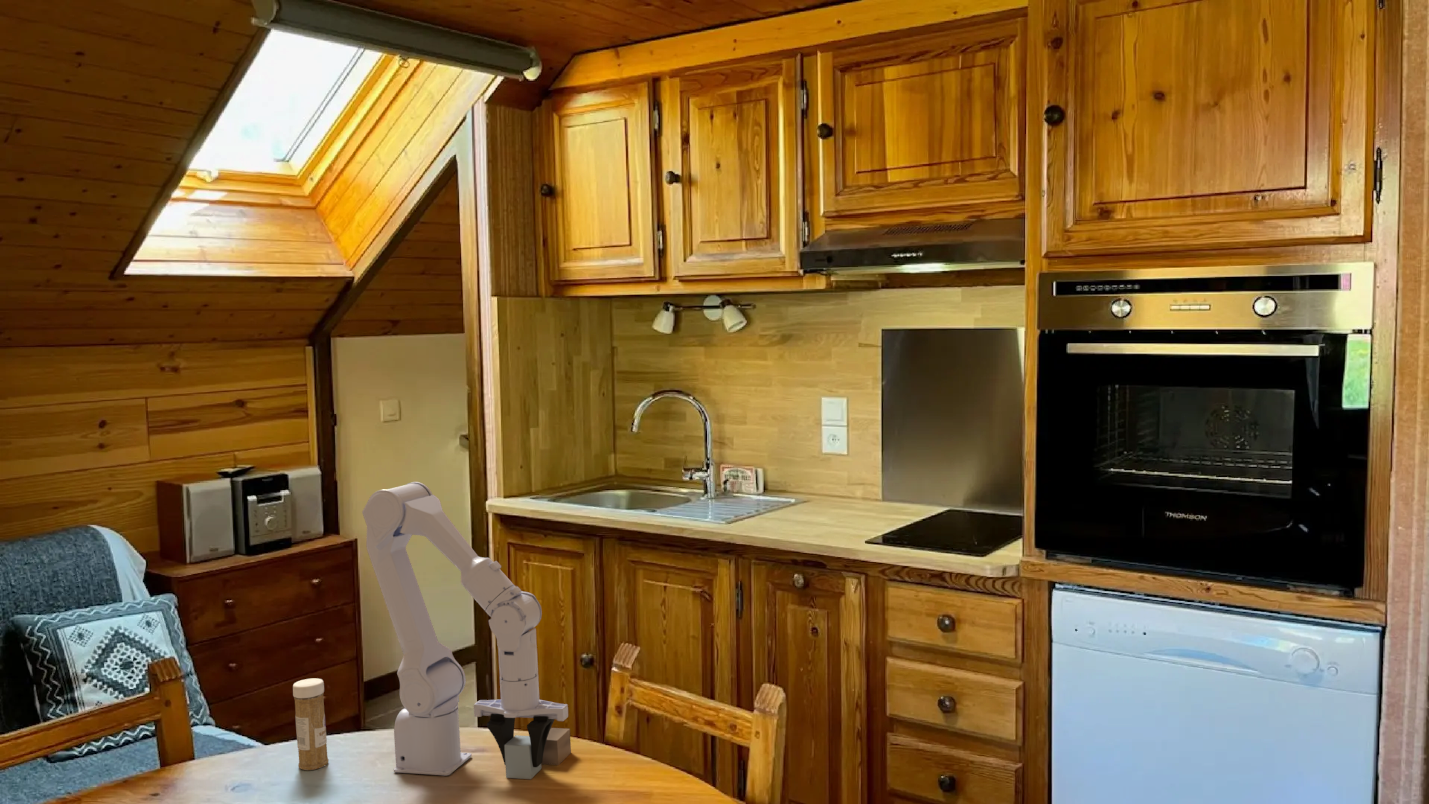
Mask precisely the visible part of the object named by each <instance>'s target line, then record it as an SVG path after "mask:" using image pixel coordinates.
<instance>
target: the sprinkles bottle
mask: <svg viewBox="0 0 1429 804" xmlns="http://www.w3.org/2000/svg"><path fill="white" fill-rule="evenodd" d="M324 692H325V683H324V680H323V679H322V678H318V677H317V678H306V679H301V680H298V681H296V682H294V683H293V685H292V696H293V699H294V709H295V715H294V716H295V717H294V718H295V730H296V745H297V750H298V768H299V769H300V770H304V771H313V770H318V769H321V768H323V767H325V766H327V765H328V764H329V758H328V746H327V742H328V741H327V739H328V738H327V727H326V726H327V725H326V714H325V705H324Z"/></svg>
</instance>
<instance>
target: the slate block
mask: <svg viewBox="0 0 1429 804" xmlns="http://www.w3.org/2000/svg"><path fill="white" fill-rule="evenodd" d="M504 746H505V764H504V766H505V779H506V778H508V779H519V780H520V779H521V780H523V779H525V780H532V779H533V778H534V777H535V776H536V775H537V774H538V773H539V772H540V771H541V769H542V764H540V765H539V766H538V767H533V764H532V751H531V742H530V736H529V735H520V734H519V735H515V734H514V737H513V738H512V739H511V740H510V741H509V742H507V743H506V744H505V745H504Z"/></svg>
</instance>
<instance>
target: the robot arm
mask: <svg viewBox="0 0 1429 804" xmlns="http://www.w3.org/2000/svg"><path fill="white" fill-rule="evenodd" d="M361 514H362V516H363V519H364V521H365V524H366V551H367V553H368V556H369V560H370V563H371V566H372V569H373V571H374V574H375V577H376V580H377V583H378V585H379V588H380V590H381V594H382V597H383V600H384V603H385V606H386V609H387V611H388V614H389V617H390V619H391V620H390V621H391V623H392V626H393V629H394V632H395V634H396V638H397V640H398V642H399V646H400V649H401V652H402V654H403V656H402V659H401V662H400V664H399V667H398V669H397V672H396V674H397V677H398V680H399V700H400V701H401V704H402V706H403V707H404V708H402V709H401V710H400V711H399V713H398V714H397V716H396V718H395V722H394V728H393V738H394V739H393V740H394V754H395V767H394V768H393V772H394V773H401V774H402V773H403V774H417V775H418V774H419V775H433V776H450V775H452V774H453V772H455V771H456V770H457V769H458V768H459V767H461V766H462V765H463V764H464V763H466V762H467V761H468V760H469V759H471V757H472V754H473V753H471V752H462V750H461V736H460V735H461V734H460V733H461V731H460V717H459V716H460V715H459V703H460V695H461V694H462V692H463V691H464V689H465V686H466V682H467V681H466V680H467V677H466V674H465V671H464V669H463V667H462V666H461V664H459V662H458V661H457V660H456V659H455V657H454V655H453V652H452V650H451V648H449V647H448V646H446V645H444V644H442V643H441V642H439V641H438V638H437V634H436V632H435V629H434V625H433V622H432V620H431V618H430V615H429V612H428V609H427V605H426V603H425V600H424V597H423V594H422V592H421V589H420V586H419V583H418V580H417V577H416V575H415V572H414V569H413V566H412V563H411V560H410V558H409V557H410V556H409V555H408V552H407V548H406V547H407V546H408V544H409V541H410V540H411V538H412V536H421V537H425V539H427V540H428V541H429V542H430V543H431V544H432V545H433V546H434V547H435V548H436V549H437V550H438V551H439V552H440V553H442V554H443V556H444V557H445V558H447V560H448V561H449V562H450V563H452V565H453V566H455V567H456V569H457V570H458V571H460V584H461V586H462V587H463V588H464V589H465V590H466V591H467V592H468V593H469V594H470V596H471V597H472V598H473V599H474V601H476V603H478V605H479V606H480V607H481V608H482V609H483V611H484V612H485V613H486V614H487V615H488V616H489V617H490V619H488V625H489V628H490V631H491V632H492V633H493V635H494V637H495V638H496V645H497V649H498V651H497V652H498V667H499V668H498V669H499V671H498V672H499V686H500V688H499V691H500V699H488V700H487V699H480V700H478V701H476V702H475V703H474V704H473V715H474V717H475V718H479V717H482V716H486V717H487V716H488V717H490V718H489V721H487V723H486V726H487V729H488V730H489V732H490V733H491V735H492V736H493V738H494V740H495V742H496V744H497V746H498V748H499V751H500V754H501V756H502V760H503V764H504V765H505V746H504V745H505V744H506V743H507V742H509V741H510V740H511V739H512V738H513V737H514V736H515V721H516V718H523V719H524V718H525V719H526V718H528V719H532V720H531V721H529V723H527V724H526V729H527V732H528V736H530V742H531V751H532V764H533V767H538V766H539V765H540V764H541V763H542V760H543V753H544V748H545V744H546V740H547V737H548V734H549V731H550V729H551V728H552V726H553V724H554V722H555V720H556V721H557V722H564V721H565V720H567V718H568V717H569V707H568V706H569V705H568V704H567V703H565V704H564V703H559V702H553V701H548V700H543V699H540V688H539V687H540V684H539V665H538V664H539V663H538V648H537V647H538V646H537V645H538V644H537V628H536V626H538V625H539V623H540V622H541V620H542V615H543V613H542V612H543V611H542V610H543V609H542V605H541V604H540V601H538V599H537V597H536V596H535V595H534V593H531V592H528V591H523V590H522V589H521V588H520V587H519V586H518V585H515V584H514V583H513V582H512V581H511V579H509V578H508V576H507V575H506V574H505V573H504V572H503V571H502V570H501V568H502V565H501V564H500V563H499V562H498V561H497V560H495V561H493V560H492V559H491V558H490V557H482V556H479V555H478V554H477V553H476V551H475V550H474V549H473V548H472V547H471V545H470V544H469V542H468V541H467V540H466V538H464V536H463V535H462V534H461V533H460V531H459V530H458V528H457V527H456V526H455V525H454V524H453V522H452V521H451V520H450V518H449V517H448V515H446V513H445V512H444V509H443V507H442V503H441V500H440V499H439V497H438V496H436V495H435V494H433V493H432V490H431V489H430V488H429V487H428V486H427V485H426V484H424V483H422V482H419V481H412V482H408V483H406V484H404V485H398V486H396V487H391V488H387V489H385V488H384V489H378V490H376V491H374V492H373V493H372V494H371V495H370V497H369V499H368V500H367V502H366V504H365V505H364V508H363V510H362V511H361ZM541 765H542V764H541Z"/></svg>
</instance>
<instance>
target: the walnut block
mask: <svg viewBox="0 0 1429 804" xmlns="http://www.w3.org/2000/svg"><path fill="white" fill-rule="evenodd" d="M571 745H572V744H571V728H561V727H559V728H558V727H551V729H550V731H549V734H548V737H547V740H546V744H545V748H544V753H543V760H542V763H541V765H551V766H552V765H553V766H559V765H560V764H561V763H562V762H563V761H565V759H566V758H567V757H568V756H569V755H571V753H572V746H571Z"/></svg>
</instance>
